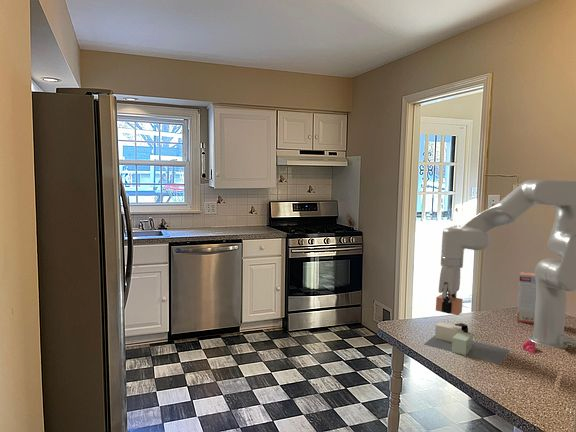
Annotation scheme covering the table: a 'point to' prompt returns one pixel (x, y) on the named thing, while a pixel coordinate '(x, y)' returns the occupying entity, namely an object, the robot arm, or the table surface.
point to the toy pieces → (529, 346)
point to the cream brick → (446, 331)
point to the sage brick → (462, 343)
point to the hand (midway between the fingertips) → (448, 310)
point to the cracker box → (526, 298)
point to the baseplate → (474, 350)
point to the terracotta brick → (456, 305)
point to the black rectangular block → (463, 327)
